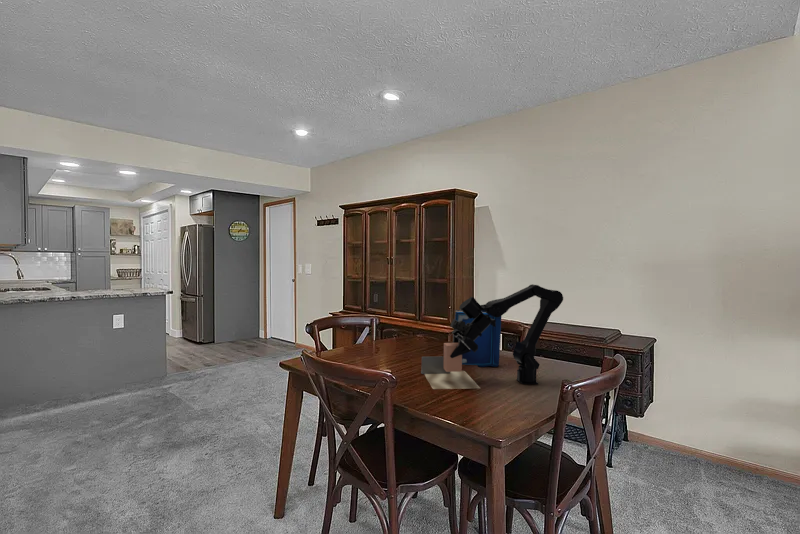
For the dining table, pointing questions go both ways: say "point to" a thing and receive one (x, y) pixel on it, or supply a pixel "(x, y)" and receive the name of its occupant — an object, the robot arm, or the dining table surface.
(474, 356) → the book
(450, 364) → the salmon pink rectangular block
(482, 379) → the dining table surface
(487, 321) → the robot arm
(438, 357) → the bookend
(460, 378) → the beige cloth placemat
